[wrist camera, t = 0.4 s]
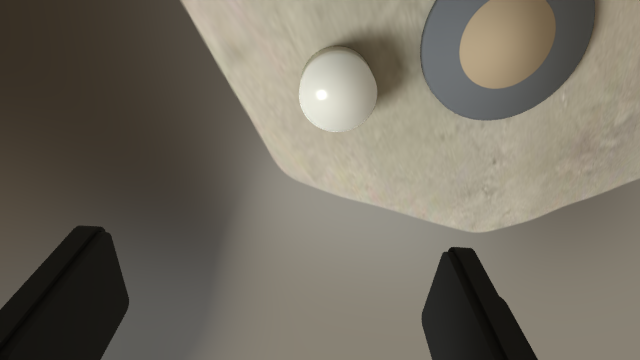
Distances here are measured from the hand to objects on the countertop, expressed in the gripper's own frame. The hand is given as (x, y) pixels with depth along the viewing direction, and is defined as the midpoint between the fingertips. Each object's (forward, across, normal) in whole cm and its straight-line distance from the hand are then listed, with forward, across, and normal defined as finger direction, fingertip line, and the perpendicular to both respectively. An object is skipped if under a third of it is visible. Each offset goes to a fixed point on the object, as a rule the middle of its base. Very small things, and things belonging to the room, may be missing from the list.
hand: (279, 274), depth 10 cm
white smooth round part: (+28, -3, +2) cm, 28 cm away
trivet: (+28, -18, -3) cm, 33 cm away
